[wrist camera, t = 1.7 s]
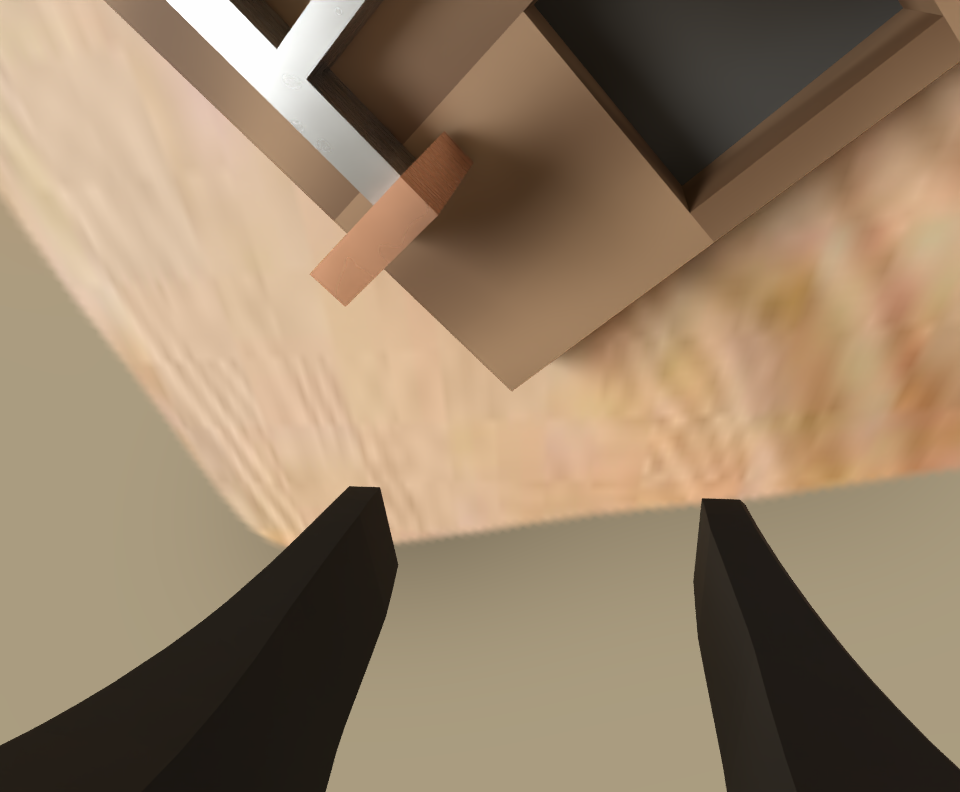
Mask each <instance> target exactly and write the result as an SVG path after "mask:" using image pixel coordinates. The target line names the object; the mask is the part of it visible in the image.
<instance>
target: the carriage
mask: <svg viewBox="0 0 960 792" xmlns="http://www.w3.org/2000/svg"><path fill="white" fill-rule="evenodd" d="M166 1H168V2H169V3H170V4H171V5H172V6H173V7H174V8H175V9H176V10H177V11H178V12H179V13H180V14H181V15H182V16H183V17H184V18H185V19H186V20H187V21H188V22H189V23H190V24H191V25H192V26H193V27H194V28H195V29H196V30H197V31H198V32H199V33H200V34H201V35H202V36H203V37H204V38H205V39H206V40H207V41H208V42H209V43H210V44H211V45H212V46H213V47H214V48H215V49H216V50H217V51H218V52H219V53H220V54H221V55H222V56H223V57H224V58H225V59H226V60H227V61H228V62H229V63H230V64H231V65H232V66H233V67H234V68H235V69H236V70H237V71H238V72H239V73H240V74H241V75H242V76H243V77H244V78H245V79H246V80H247V81H248V82H249V83H250V84H251V85H252V86H253V87H254V88H255V89H256V90H257V91H258V92H259V93H260V94H261V95H262V96H263V97H264V98H265V99H266V100H267V101H268V102H269V103H271V104H272V105H273V106H274V107H275V108H276V109H277V110H278V111H279V112H280V113H281V114H282V115H283V116H284V117H285V118H286V119H287V120H288V121H289V122H290V123H291V124H292V125H293V126H294V127H295V128H296V129H297V130H298V131H299V132H300V133H301V134H302V135H303V136H304V137H305V138H306V139H307V140H308V141H309V142H310V143H311V144H312V145H313V146H314V147H315V148H316V149H317V150H318V151H319V152H320V153H321V154H322V155H323V156H324V157H325V158H326V159H327V160H328V161H329V162H330V163H331V164H332V165H333V166H334V167H335V168H336V169H337V170H338V171H339V172H340V173H341V174H342V175H343V176H344V177H345V178H346V179H347V180H348V181H349V182H350V183H351V184H352V185H353V186H354V187H355V188H356V189H357V190H358V191H359V192H360V193H361V194H362V195H363V196H364V197H365V198H366V199H367V200H368V201H369V202H370V203H371V204H372V205H373V206H372V207H371V209H370V210H369V211H368V212H367V213H366V214H365V215H364V216H363V217H362V218H361V219H360V220H359V221H358V223H357V224H356V225H355V226H354V227H353V228H352V229H351V230H350V231H349V232H348V233H347V234H346V235H345V236H344V238H343V239H342V240H341V241H340V242H339V243H338V244H337V245H336V246H335V247H334V248H333V249H332V250H331V252H330V253H329V254H328V255H327V256H326V257H325V258H324V259H323V260H322V261H321V262H320V263H319V264H318V266H317V267H316V268H315V269H314V270H313V271H312V272H311V273H310V275H311V276H312V277H313V278H315V279H316V280H317V281H318V282H319V283H320V284H321V285H322V286H323V287H324V288H325V289H327V290H328V291H329V292H330V293H331V294H332V295H333V296H334V297H335V298H336V299H337V300H339V301H340V302H341V303H342V304H343V305H344V306H345V307H346V306H347V305H348V304H349V303H350V302H351V301H352V300H353V299H354V298H355V297H356V296H357V295H358V294H359V293H360V292H361V291H362V290H363V289H364V288H365V287H366V286H367V285H368V284H369V283H370V282H371V281H372V280H373V279H374V278H375V277H376V276H377V275H378V274H379V273H380V272H381V271H382V270H383V269H384V268H385V267H386V266H387V265H388V264H389V263H390V262H391V261H392V260H393V259H394V258H395V257H396V256H397V255H398V254H399V253H400V252H401V251H402V250H403V249H404V248H405V247H406V246H407V245H408V244H409V243H410V242H411V241H413V240H414V239H415V238H416V237H417V236H418V235H419V234H420V233H421V232H422V231H423V230H424V229H425V228H426V227H427V226H428V225H429V224H430V223H431V222H432V221H433V220H434V219H435V218H436V217H437V216H438V215H439V213H440V212H441V210H442V209H443V207H444V206H445V204H446V203H447V201H448V200H449V198H450V197H451V195H452V194H453V192H454V191H455V189H456V188H457V187H458V185H459V184H460V182H461V181H462V179H463V178H464V176H465V175H466V173H467V172H468V170H469V169H470V167H471V166H472V164H473V163H474V162H473V161H472V160H471V159H470V158H469V157H468V156H467V155H466V154H465V152H464V151H463V150H462V149H461V148H460V147H459V146H458V145H457V144H456V143H455V142H454V141H453V139H452V138H451V137H450V136H449V135H448V134H447V133H446V132H445V131H444V132H443V133H442V134H441V135H440V136H439V137H438V138H437V139H436V140H435V141H434V142H433V143H432V144H431V145H430V146H429V147H428V148H427V149H426V150H425V151H424V153H423V154H422V155H421V156H420V157H419V158H418V159H416V158H415V157H414V156H413V155H412V154H411V153H410V152H409V151H408V150H407V149H406V148H405V147H404V146H403V145H402V144H401V143H400V142H399V141H398V140H397V138H396V137H395V136H394V135H393V134H392V133H391V132H390V131H389V130H388V129H387V128H386V127H385V126H384V125H383V124H382V123H381V122H380V121H379V120H378V119H377V118H376V117H375V116H374V114H373V113H372V112H371V111H370V110H369V109H368V108H367V107H366V106H365V105H364V104H363V103H362V102H361V101H360V100H359V99H358V98H357V97H356V96H355V95H354V94H353V93H352V92H351V90H350V89H349V88H348V87H347V86H346V85H345V84H344V83H343V82H342V81H341V80H340V79H339V78H338V77H337V76H336V75H335V74H334V73H333V72H332V71H331V70H330V69H331V68H332V67H333V65H334V64H335V63H336V61H337V60H338V59H339V57H340V56H341V55H342V54H343V52H344V51H345V50H346V48H347V47H348V46H349V44H350V43H351V42H352V41H353V39H354V38H355V37H356V35H357V34H358V33H359V31H360V30H361V29H362V28H363V26H364V25H365V24H366V22H367V21H368V20H369V18H370V17H371V16H372V15H373V13H374V12H375V11H376V9H377V8H378V7H379V5H380V4H381V3H382V2H383V0H311V1H310V3H309V4H308V6H307V7H306V8H305V10H304V11H303V13H302V14H301V16H300V17H299V18H298V20H297V21H296V23H295V24H294V26H293V27H292V28H290V27H289V26H288V25H287V24H286V23H285V22H284V21H283V19H282V18H281V17H280V16H279V15H278V14H277V13H276V12H275V11H274V10H273V9H272V8H271V7H270V6H269V5H268V4H267V3H266V2H265V1H264V0H166Z"/></svg>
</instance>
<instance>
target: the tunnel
mask: <svg viewBox="0 0 960 792" xmlns="http://www.w3.org/2000/svg"><path fill="white" fill-rule="evenodd" d="M104 1H105V2H106V3H107V4H108V5H109V6H110V7H111V8H112V9H113V10H115V11H116V12H117V13H118V14H119V15H120V16H121V17H122V18H123V19H124V20H125V21H126V22H127V23H128V24H129V25H130V26H131V27H132V28H133V29H134V30H135V31H136V32H137V33H139V34H140V35H141V36H142V37H143V38H144V39H145V40H146V41H147V42H148V43H149V44H150V45H151V46H152V47H153V48H154V49H155V50H156V51H157V52H158V53H159V54H160V55H161V56H162V57H164V58H165V59H166V60H167V61H168V62H169V63H170V64H171V65H172V66H173V67H174V68H175V69H176V70H177V71H178V72H179V73H180V74H181V75H182V76H183V77H184V78H185V79H186V80H188V81H189V82H190V83H191V84H192V85H193V86H194V87H195V88H196V89H197V90H198V91H199V92H200V93H201V94H202V95H203V96H204V97H205V98H206V99H207V100H208V101H209V102H210V103H211V104H213V105H214V106H215V107H216V108H217V109H218V110H219V111H220V112H221V113H222V114H223V115H224V116H225V117H226V118H227V119H228V120H229V121H230V122H231V123H232V124H233V125H234V126H235V127H237V128H238V129H239V130H240V131H241V132H242V133H243V134H244V135H245V136H246V137H247V138H248V139H249V140H250V141H251V142H252V143H253V144H254V145H255V146H256V147H257V148H258V149H259V150H260V151H262V152H263V153H264V154H265V155H266V156H267V157H268V158H269V159H270V160H271V161H272V162H273V163H274V164H275V165H276V166H277V167H278V168H279V169H280V170H281V171H282V172H283V173H284V174H286V175H287V176H288V177H289V178H290V179H291V180H292V181H293V182H294V183H295V184H296V185H297V186H298V187H299V188H300V189H301V190H302V191H303V192H304V193H305V194H306V195H307V196H308V197H310V198H311V199H312V200H313V201H314V202H315V203H316V204H317V205H318V206H319V207H320V208H321V209H322V210H323V211H324V212H325V213H326V214H327V215H328V216H329V217H330V218H331V219H332V220H333V221H335V222H336V223H337V224H338V225H339V226H340V227H341V228H342V229H343V230H344V231H345V232H346V233H348V232H349V231H350V230H351V229H352V228H353V227H354V226H355V225H356V224H357V223H358V221H359V220H360V219H361V218H362V217H363V216H364V215H365V214H366V213H367V212H368V211H369V210H370V209H371V207H372V206H373V205H372V204H371V203H370V202H369V201H368V200H367V199H366V198H365V197H364V196H363V195H362V194H361V193H360V192H359V191H358V190H357V189H356V188H355V187H354V186H353V185H352V184H351V183H350V182H349V181H348V180H347V179H346V178H345V177H344V176H343V175H342V174H341V173H340V172H339V171H338V170H337V169H336V168H335V167H334V166H333V165H332V164H331V163H330V162H329V161H328V160H327V159H326V158H325V157H324V156H323V155H322V154H321V153H320V152H319V151H318V150H317V149H316V148H315V147H314V146H313V145H312V144H311V143H310V142H309V141H308V140H307V139H306V138H305V137H304V136H303V135H302V134H301V133H300V132H299V131H298V130H297V129H296V128H295V127H294V126H293V125H292V124H291V123H290V122H289V121H288V120H287V119H286V118H285V117H284V116H283V115H282V114H281V113H280V112H279V111H278V110H277V109H276V108H275V107H274V106H273V105H272V104H271V103H269V102H268V101H267V100H266V99H265V98H264V97H263V96H262V95H261V94H260V93H259V92H258V91H257V90H256V89H255V88H254V87H253V86H252V85H251V84H250V83H249V82H248V81H247V80H246V79H245V78H244V77H243V76H242V75H241V74H240V73H239V72H238V71H237V70H236V69H235V68H234V67H233V66H232V65H231V64H230V63H229V62H228V61H227V60H226V59H225V58H224V57H223V56H222V55H221V54H220V53H219V52H218V51H217V50H216V49H215V48H214V47H213V46H212V45H211V44H210V43H209V42H208V41H207V40H206V39H205V38H204V37H203V36H202V35H201V34H200V33H199V32H198V31H197V30H196V29H195V28H194V27H193V26H192V25H191V24H190V23H189V22H188V21H187V20H186V19H185V18H184V17H183V16H182V15H181V14H180V13H179V12H178V11H177V10H176V9H175V8H174V7H173V6H172V5H171V4H170V3H169V2H168V1H166V0H104ZM264 1H265V2H266V3H267V4H268V5H269V6H270V7H271V8H272V9H273V10H274V11H275V12H276V13H277V14H278V15H279V16H280V17H281V18H282V19H283V21H284V22H285V23H286V24H287V25H288V26H289V27H290V28H292V27H293V26H294V24H295V23H296V21H297V20H298V18H299V17H300V16H301V14H302V13H303V11H304V10H305V8H306V7H307V6H308V4H309V3H310V1H311V0H264ZM959 62H960V0H383V2H382V3H381V4H380V5H379V7H378V8H377V9H376V11H375V12H374V13H373V15H372V16H371V17H370V18H369V20H368V21H367V22H366V24H365V25H364V26H363V28H362V29H361V30H360V31H359V33H358V34H357V35H356V37H355V38H354V39H353V41H352V42H351V43H350V44H349V46H348V47H347V48H346V50H345V51H344V52H343V54H342V55H341V56H340V57H339V59H338V60H337V61H336V63H335V64H334V65H333V67H332V68H331V69H330V70H331V71H332V72H333V73H334V74H335V75H336V76H337V77H338V78H339V79H340V80H341V81H342V82H343V83H344V84H345V85H346V86H347V87H348V88H349V89H350V90H351V92H352V93H353V94H354V95H355V96H356V97H357V98H358V99H359V100H360V101H361V102H362V103H363V104H364V105H365V106H366V107H367V108H368V109H369V110H370V111H371V112H372V113H373V114H374V116H375V117H376V118H377V119H378V120H379V121H380V122H381V123H382V124H383V125H384V126H385V127H386V128H387V129H388V130H389V131H390V132H391V133H392V134H393V135H394V136H395V137H396V138H397V140H398V141H399V142H400V143H401V144H402V145H403V146H404V147H405V148H406V149H407V150H408V151H409V152H410V153H411V154H412V155H413V156H414V157H415V158H416V159H418V158H419V157H420V156H421V155H422V154H423V153H424V151H425V150H426V149H427V148H428V147H429V146H430V145H431V144H432V143H433V142H434V141H435V140H436V139H437V138H438V137H439V136H440V135H441V134H442V133H443V132H444V131H445V132H446V133H447V134H448V135H449V136H450V137H451V138H452V139H453V141H454V142H455V143H456V144H457V145H458V146H459V147H460V148H461V149H462V150H463V151H464V152H465V154H466V155H467V156H468V157H469V158H470V159H471V160H472V161H473V162H474V163H473V164H472V166H471V167H470V169H469V170H468V172H467V173H466V175H465V176H464V178H463V179H462V181H461V182H460V184H459V185H458V187H457V188H456V189H455V191H454V192H453V194H452V195H451V197H450V198H449V200H448V201H447V203H446V204H445V206H444V207H443V209H442V210H441V212H440V213H439V215H438V216H437V217H436V218H435V219H434V220H433V221H432V222H431V223H430V224H429V225H428V226H427V227H426V228H425V229H424V230H423V231H422V232H421V233H420V234H419V235H418V236H417V237H416V238H415V239H414V240H413V241H411V242H410V243H409V244H408V245H407V246H406V247H405V248H404V249H403V250H402V251H401V252H400V253H399V254H398V255H397V256H396V257H395V258H394V259H393V260H392V261H391V262H390V263H389V264H388V265H387V266H386V267H385V268H384V269H385V270H386V271H387V272H388V273H389V274H390V275H391V276H392V277H393V278H394V279H395V280H396V281H397V282H398V283H399V284H400V285H401V286H402V287H403V288H404V289H405V290H406V291H408V292H409V293H410V294H411V295H412V296H413V297H414V298H415V299H416V300H417V301H418V302H419V303H420V304H421V305H422V306H423V307H424V308H425V309H426V310H427V311H428V312H429V313H430V314H431V315H433V316H434V317H435V318H436V319H437V320H438V321H439V322H440V323H441V324H442V325H443V326H444V327H445V328H446V329H447V330H448V331H449V332H450V333H451V334H452V335H453V336H454V337H455V338H457V339H458V340H459V341H460V342H461V343H462V344H463V345H464V346H465V347H466V348H467V349H468V350H469V351H470V352H471V353H472V354H473V355H474V356H475V357H476V358H477V359H478V360H479V361H480V362H482V363H483V364H484V365H485V366H486V367H487V368H488V369H489V370H490V371H491V372H492V373H493V374H494V375H495V376H496V377H497V378H498V379H499V380H500V381H501V382H502V383H503V384H504V385H506V386H507V387H508V388H509V389H510V390H511V391H513V390H514V389H516V388H517V387H518V386H520V385H521V384H523V383H524V382H525V381H527V380H528V379H529V378H531V377H532V376H533V375H535V374H536V373H537V372H539V371H540V370H542V369H543V368H544V367H546V366H547V365H548V364H550V363H551V362H552V361H554V360H555V359H556V358H558V357H559V356H561V355H562V354H563V353H565V352H566V351H567V350H569V349H570V348H571V347H573V346H574V345H576V344H577V343H578V342H580V341H581V340H582V339H584V338H585V337H586V336H588V335H589V334H590V333H592V332H593V331H595V330H596V329H597V328H599V327H600V326H601V325H603V324H604V323H605V322H607V321H608V320H610V319H611V318H612V317H614V316H615V315H616V314H618V313H619V312H620V311H622V310H623V309H624V308H626V307H627V306H629V305H630V304H631V303H633V302H634V301H635V300H637V299H638V298H639V297H641V296H642V295H644V294H645V293H646V292H648V291H649V290H650V289H652V288H653V287H654V286H656V285H657V284H658V283H660V282H661V281H663V280H664V279H665V278H667V277H668V276H669V275H671V274H672V273H673V272H675V271H676V270H677V269H679V268H680V267H682V266H683V265H684V264H686V263H687V262H688V261H690V260H691V259H692V258H694V257H695V256H697V255H698V254H699V253H701V252H702V251H703V250H705V249H706V248H707V247H709V246H710V245H711V244H713V243H714V242H716V241H717V240H718V239H720V238H721V237H722V236H724V235H725V234H726V233H728V232H729V231H731V230H732V229H733V228H735V227H736V226H737V225H739V224H740V223H741V222H743V221H744V220H745V219H747V218H748V217H750V216H751V215H752V214H754V213H755V212H756V211H758V210H759V209H760V208H762V207H763V206H764V205H766V204H767V203H769V202H770V201H771V200H773V199H774V198H775V197H777V196H778V195H779V194H781V193H782V192H784V191H785V190H786V189H788V188H789V187H790V186H792V185H793V184H794V183H796V182H797V181H798V180H800V179H801V178H803V177H804V176H805V175H807V174H808V173H809V172H811V171H812V170H813V169H815V168H816V167H818V166H819V165H820V164H822V163H823V162H824V161H826V160H827V159H828V158H830V157H831V156H832V155H834V154H835V153H837V152H838V151H839V150H841V149H842V148H843V147H845V146H846V145H847V144H849V143H850V142H851V141H853V140H854V139H856V138H857V137H858V136H860V135H861V134H862V133H864V132H865V131H866V130H868V129H869V128H871V127H872V126H873V125H875V124H876V123H877V122H879V121H880V120H881V119H883V118H884V117H885V116H887V115H888V114H890V113H891V112H892V111H894V110H895V109H896V108H898V107H899V106H900V105H902V104H903V103H905V102H906V101H907V100H909V99H910V98H911V97H913V96H914V95H915V94H917V93H918V92H919V91H921V90H922V89H924V88H925V87H926V86H928V85H929V84H930V83H932V82H933V81H934V80H936V79H937V78H939V77H940V76H941V75H943V74H944V73H945V72H947V71H948V70H949V69H951V68H952V67H953V66H955V65H956V64H958V63H959Z"/></svg>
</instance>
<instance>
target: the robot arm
mask: <svg viewBox="0 0 960 792" xmlns="http://www.w3.org/2000/svg"><path fill="white" fill-rule="evenodd" d="M397 568H398V562H397V558H396V553H395V549H394V545H393V541H392V536H391V532H390V528H389V524H388V519H387V515H386V511H385V507H384V502H383V498H382V494H381V490H380V487H354V486H349V487H348V488H347V489H346V490H345V491H344V492H343V493H342V494H341V495H340V496H339V497H338V498H337V499H336V500H335V501H334V502H333V503H332V504H331V505H330V506H329V507H328V508H327V509H326V510H325V511H324V512H323V513H322V514H321V515H320V516H319V517H318V518H317V519H316V520H315V521H314V522H313V523H312V524H310V525H309V526H308V527H307V528H306V529H305V530H304V531H303V532H302V533H301V534H300V535H299V536H298V537H297V538H296V539H295V540H294V541H293V542H292V543H291V544H290V545H289V546H288V547H287V548H286V549H285V550H284V551H283V552H282V553H281V554H280V555H278V556H277V557H276V558H275V559H274V560H273V561H272V562H271V563H270V564H269V565H268V566H267V567H266V568H265V569H263V570H262V571H261V572H260V573H259V574H258V575H257V576H256V577H254V578H253V579H252V580H251V581H250V582H249V583H247V584H246V585H245V586H244V587H243V588H242V589H241V590H240V591H238V592H237V593H236V594H235V595H234V596H233V597H231V598H230V599H229V600H228V601H227V602H226V603H224V604H223V605H222V606H221V607H219V608H218V609H217V610H216V611H214V612H213V613H212V614H211V615H210V616H208V617H207V618H206V619H204V620H203V621H202V622H200V623H199V624H198V625H196V626H195V627H194V628H193V629H191V630H190V631H189V632H187V633H186V634H184V635H183V636H182V637H180V638H179V639H178V640H176V641H175V642H173V643H172V644H171V645H169V646H168V647H166V648H165V649H164V650H162V651H161V652H159V653H157V654H156V655H155V656H153V657H151V658H150V659H148V660H147V661H145V662H144V663H142V664H141V665H139V666H138V667H136V668H135V669H133V670H132V671H130V672H129V673H127V674H126V675H124V676H123V677H121V678H120V679H118V680H117V681H115V682H114V683H112V684H110V685H109V686H107V687H105V688H104V689H102V690H100V691H99V692H97V693H95V694H94V695H92V696H90V697H89V698H87V699H85V700H84V701H82V702H80V703H79V704H77V705H75V706H74V707H72V708H70V709H68V710H66V711H65V712H63V713H61V714H59V715H58V716H56V717H54V718H52V719H50V720H48V721H47V722H45V723H43V724H41V725H39V726H38V727H36V728H34V729H32V730H30V731H28V732H26V733H24V734H22V735H20V736H18V737H16V738H14V739H12V740H10V741H8V742H6V743H4V744H2V745H0V792H325V791H326V788H327V784H328V781H329V777H330V773H331V770H332V766H333V762H334V758H335V755H336V751H337V748H338V745H339V742H340V739H341V736H342V733H343V730H344V727H345V725H346V722H347V719H348V716H349V714H350V711H351V709H352V706H353V703H354V701H355V698H356V695H357V693H358V690H359V687H360V685H361V682H362V679H363V677H364V674H365V672H366V669H367V666H368V664H369V661H370V658H371V656H372V653H373V650H374V648H375V644H376V642H377V639H378V637H379V634H380V631H381V629H382V625H383V623H384V620H385V617H386V614H387V610H388V606H389V602H390V598H391V594H392V590H393V586H394V581H395V577H396V572H397ZM693 582H694V595H695V609H696V620H697V632H698V640H699V646H700V651H701V656H702V662H703V667H704V672H705V677H706V682H707V687H708V693H709V698H710V702H711V708H712V713H713V718H714V723H715V728H716V733H717V738H718V743H719V749H720V754H721V759H722V764H723V769H724V775H725V782H726V788H727V792H960V769H959V768H958V767H957V766H956V765H955V764H954V763H953V762H951V760H949V759H948V758H947V757H946V756H945V755H944V754H943V753H942V752H940V750H939V749H937V747H936V746H934V745H933V744H932V743H931V742H930V741H929V740H928V739H927V738H926V737H925V736H924V735H923V734H922V733H921V732H920V731H919V729H918V728H916V727H915V725H913V723H912V722H911V721H910V720H909V719H908V718H907V717H906V716H905V715H904V714H903V713H902V712H901V711H900V710H899V709H898V708H897V707H896V706H895V705H894V704H893V703H892V702H891V700H890V699H889V698H888V697H887V696H886V695H885V694H884V693H883V692H882V691H881V690H880V689H879V687H878V686H877V685H876V684H875V683H874V682H873V681H872V680H871V679H870V678H869V677H868V675H867V674H866V673H865V672H864V671H863V670H862V668H861V667H860V666H859V665H858V664H857V663H856V661H855V660H854V659H853V658H852V657H851V656H850V654H849V653H848V652H847V651H846V650H845V648H844V647H843V646H842V645H841V643H840V642H839V641H838V640H837V639H836V637H835V636H834V635H833V634H832V632H831V631H830V630H829V629H828V627H827V626H826V625H825V624H824V622H823V621H822V620H821V618H820V617H819V616H818V614H817V613H816V612H815V610H814V609H813V608H812V606H811V605H810V604H809V602H808V601H807V600H806V598H805V597H804V595H803V594H802V593H801V591H800V590H799V589H798V587H797V586H796V584H795V583H794V582H793V580H792V579H791V577H790V576H789V575H788V573H787V572H786V570H785V569H784V567H783V566H782V564H781V563H780V561H779V560H778V558H777V557H776V555H775V554H774V552H773V550H772V549H771V547H770V546H769V544H768V543H767V541H766V540H765V538H764V536H763V535H762V533H761V532H760V530H759V528H758V527H757V525H756V523H755V521H754V519H753V518H752V516H751V514H750V513H749V511H748V509H747V507H746V505H745V504H744V503H743V502H742V501H741V500H734V499H705V498H702V503H701V512H700V522H699V532H698V543H697V552H696V562H695V571H694V581H693Z"/></svg>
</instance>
